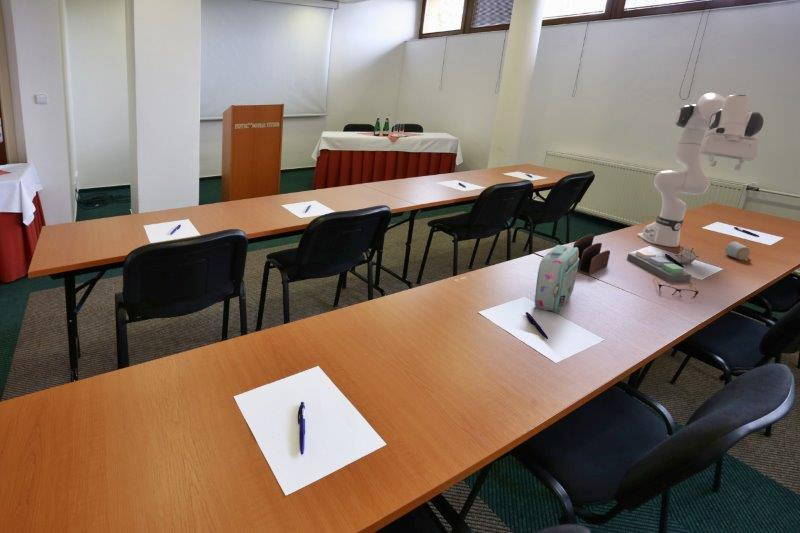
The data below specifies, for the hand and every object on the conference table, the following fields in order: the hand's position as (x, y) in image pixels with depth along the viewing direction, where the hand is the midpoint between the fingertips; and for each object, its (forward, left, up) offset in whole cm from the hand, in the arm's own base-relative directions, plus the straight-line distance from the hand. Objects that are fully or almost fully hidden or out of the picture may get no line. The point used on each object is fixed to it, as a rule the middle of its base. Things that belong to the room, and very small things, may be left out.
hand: (725, 167), depth 187 cm
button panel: (-12, -7, -49) cm, 51 cm away
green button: (-4, -7, -47) cm, 48 cm away
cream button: (-21, -7, -47) cm, 52 cm away
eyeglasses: (+9, -17, -50) cm, 53 cm away
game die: (-18, +14, -49) cm, 55 cm away
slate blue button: (-12, -7, -47) cm, 49 cm away
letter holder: (-17, -40, -50) cm, 66 cm away
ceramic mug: (-25, +53, -49) cm, 77 cm away
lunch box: (+17, -77, -49) cm, 93 cm away
